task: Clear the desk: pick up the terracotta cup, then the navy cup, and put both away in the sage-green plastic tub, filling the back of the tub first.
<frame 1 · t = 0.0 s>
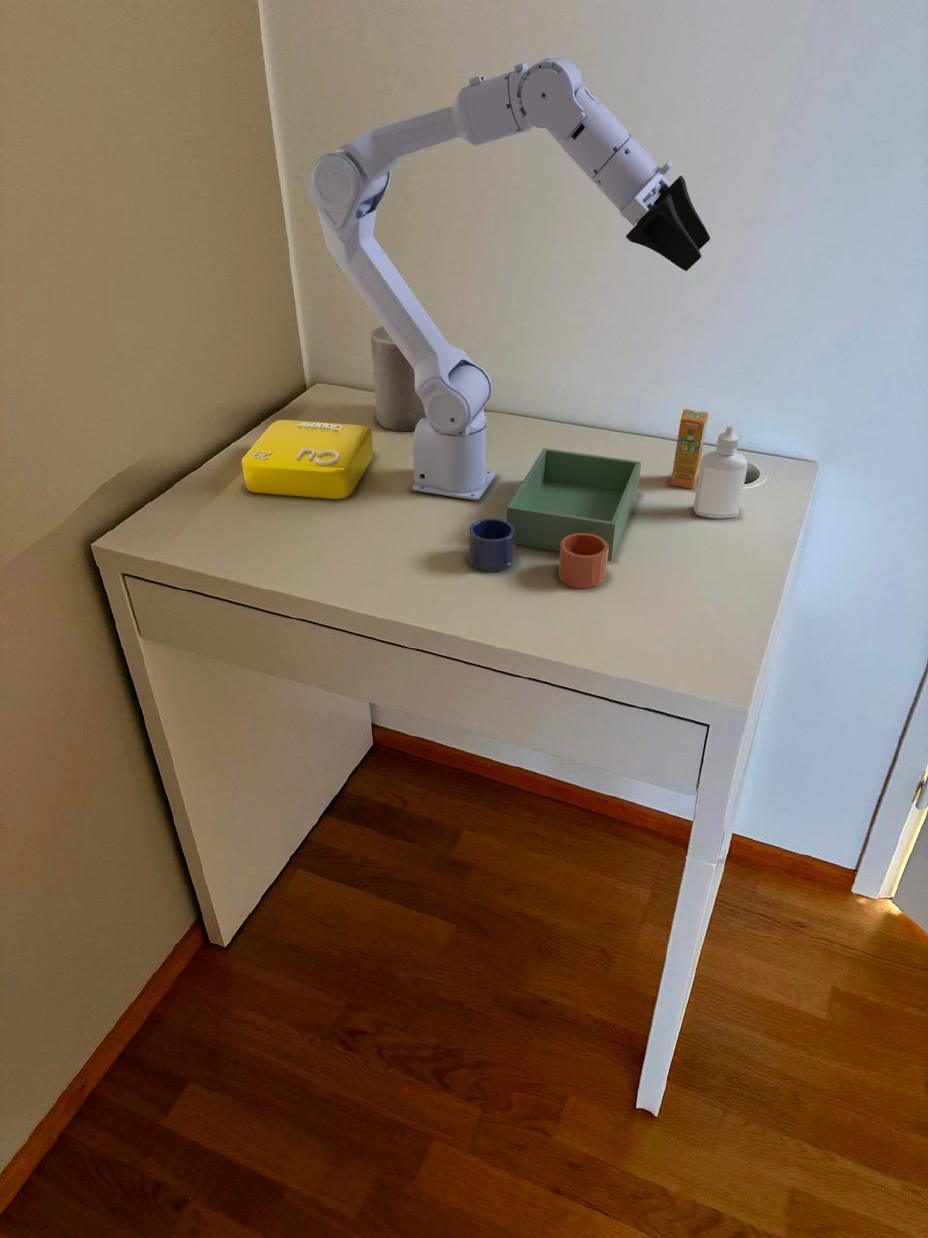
hand: (698, 254, 99), 32 cm above the table, tool tilted 50°, fingers open, 7 cm apart
navy cup: (491, 559, 110), on the table
supplement box: (683, 484, 125), on the table
terracotta cup: (581, 575, 107), on the table
pillar candle: (406, 420, 143), on the table
sage tub: (574, 517, 118), on the table
element tile: (311, 473, 129), on the table
eye dropper bottle: (715, 513, 119), on the table
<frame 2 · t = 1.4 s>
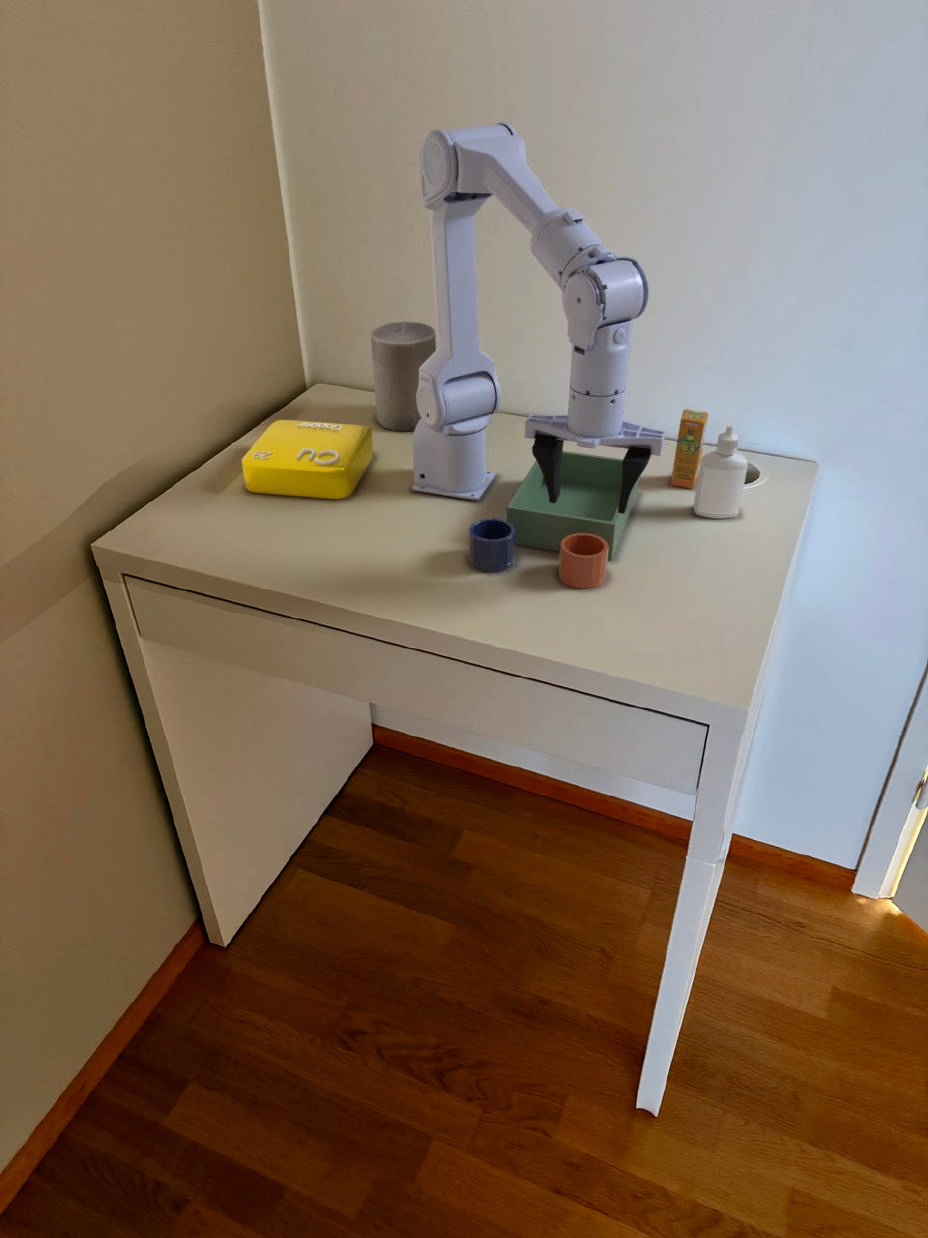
hand: (588, 503, 101), 9 cm above the table, tool pointing down, fingers open, 7 cm apart
nothing on the table moved.
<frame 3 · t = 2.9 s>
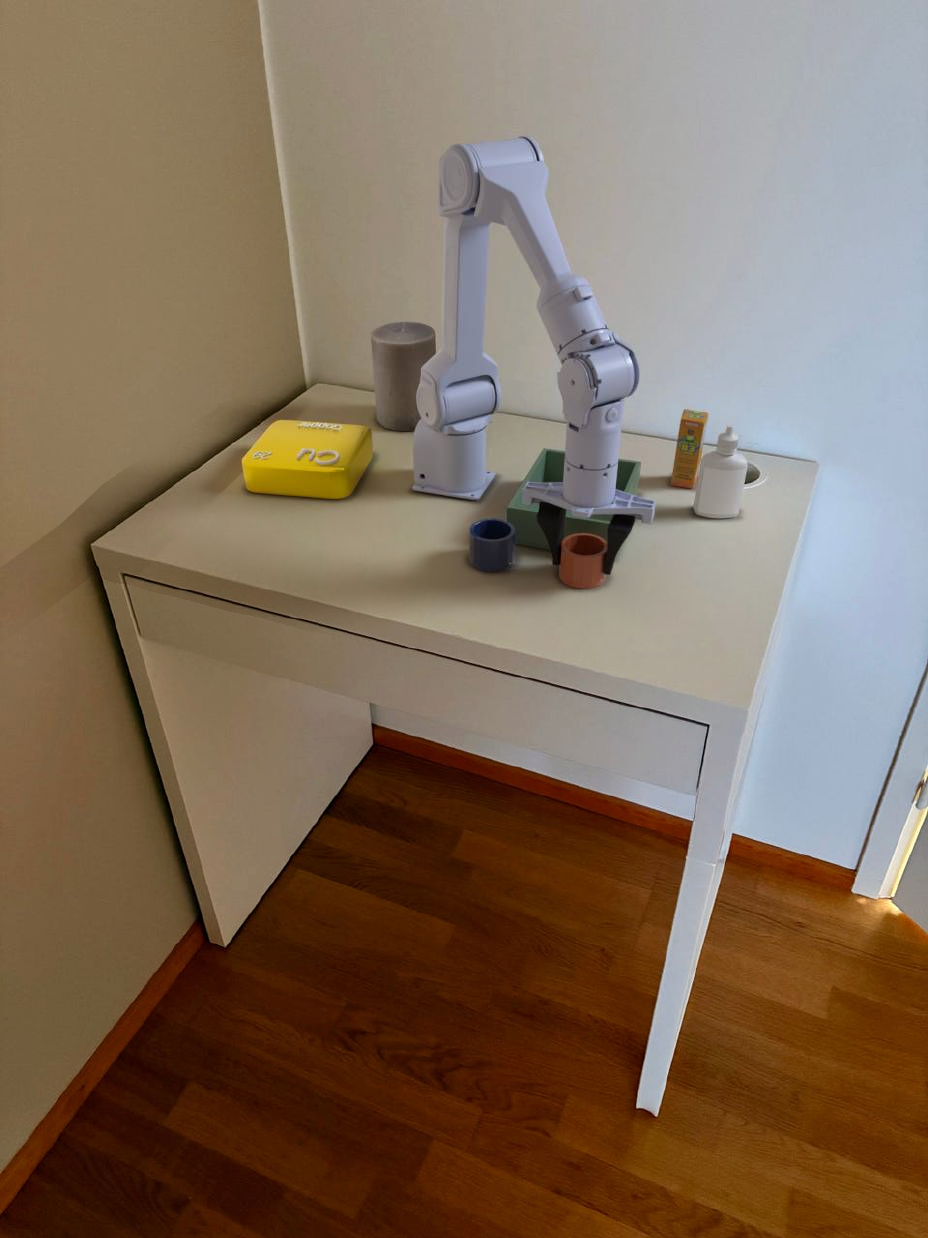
hand: (582, 565, 106), 1 cm above the table, tool pointing down, fingers closed on terracotta cup, 5 cm apart
terracotta cup: (582, 575, 107), on the table, touching gripper
everything else where it was.
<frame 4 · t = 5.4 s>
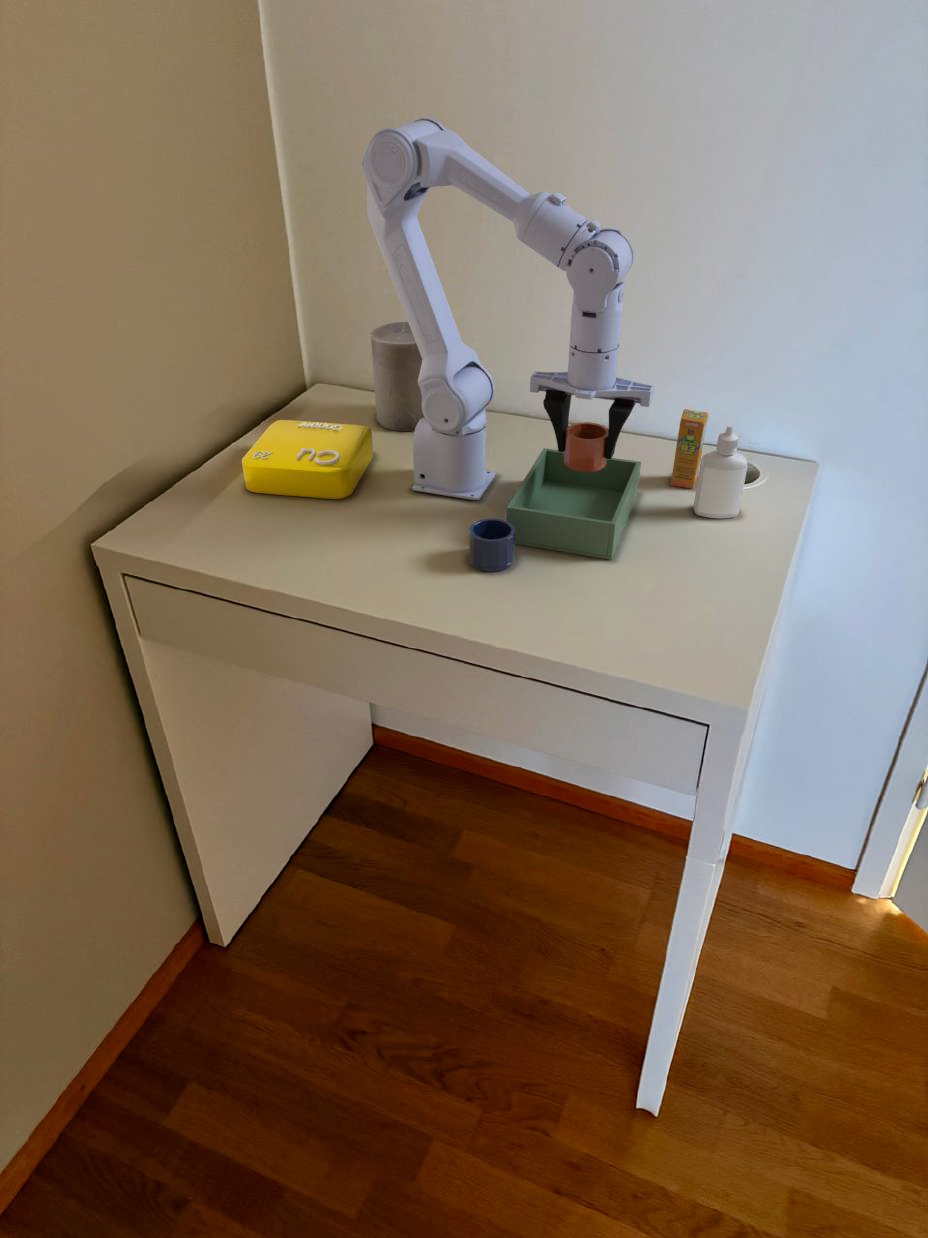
hand: (585, 451, 114), 8 cm above the table, tool pointing down, fingers closed on terracotta cup, 5 cm apart
terracotta cup: (585, 462, 115), point 7 cm above the table, touching gripper
everything else where it was.
when the fingers open (2 cm above the table, at t = 7.9 s): terracotta cup stays where it is, resting on sage tub.
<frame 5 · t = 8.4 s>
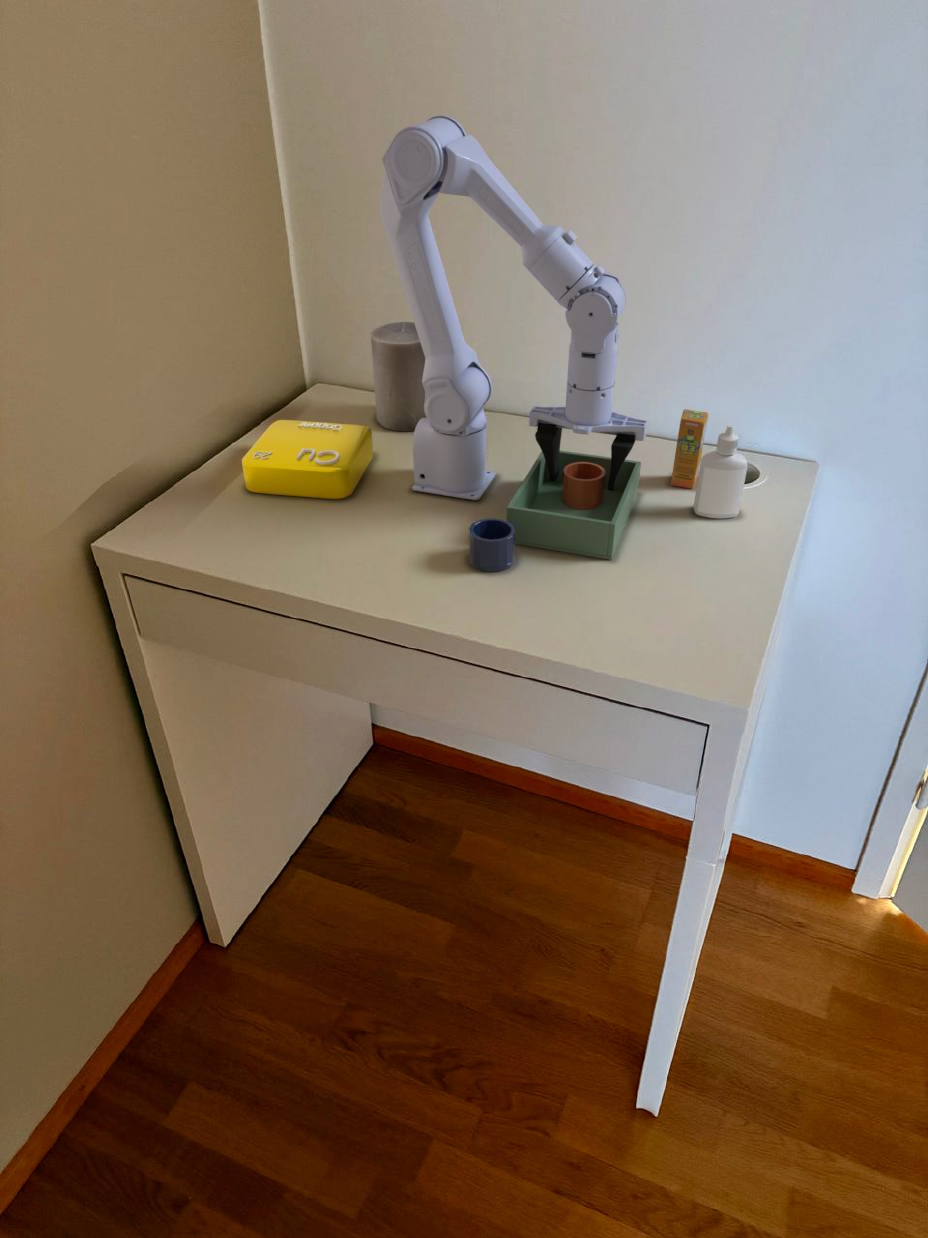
hand: (582, 482, 119), 3 cm above the table, tool pointing down, fingers open, 7 cm apart
terracotta cup: (582, 499, 120), resting on sage tub
everything else where it was.
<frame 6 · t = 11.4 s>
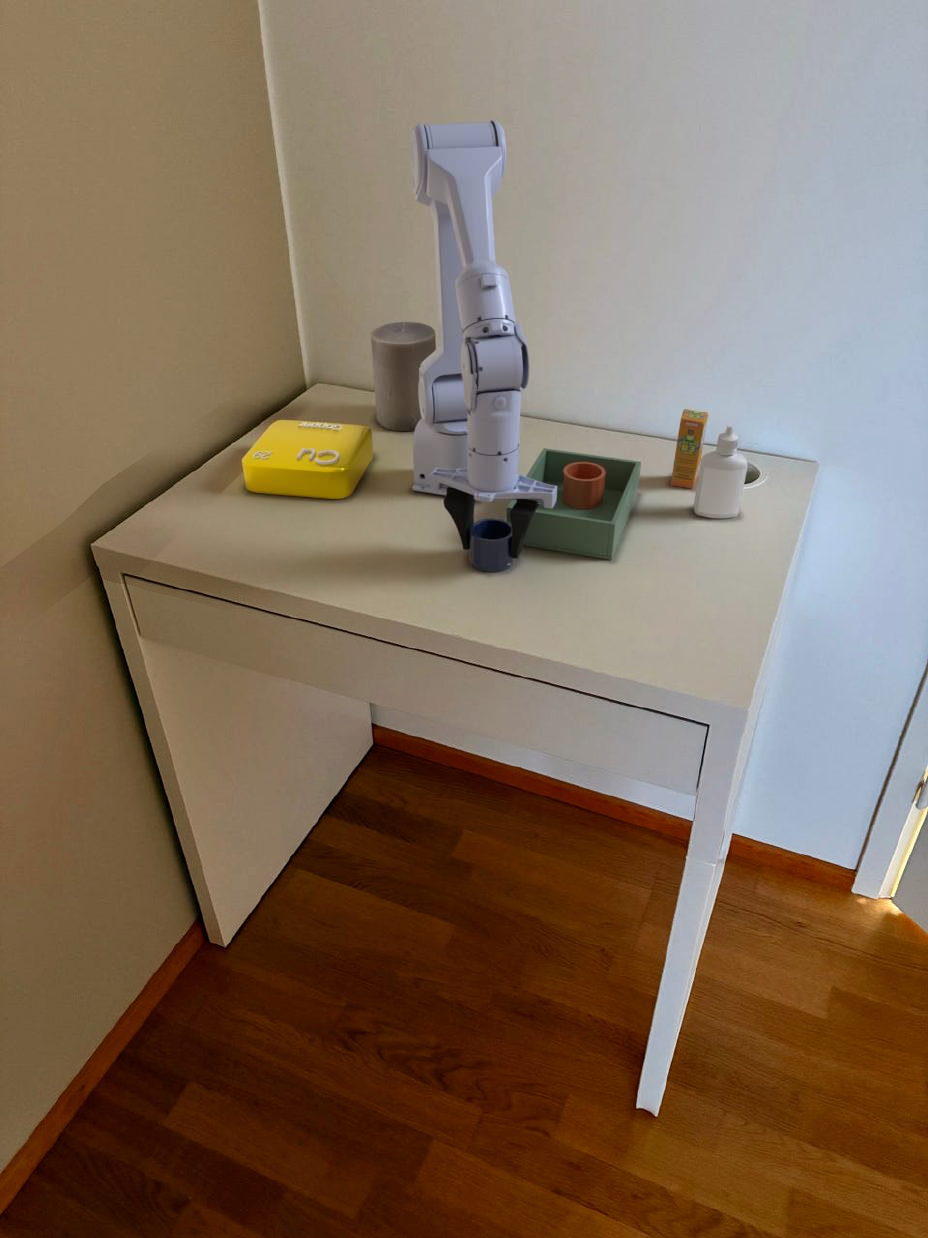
hand: (491, 549, 109), 1 cm above the table, tool pointing down, fingers closed on navy cup, 5 cm apart
navy cup: (492, 559, 110), on the table, touching gripper
everything else where it was.
when the fingers open (2 cm above the table, at t = 15.8 s): navy cup stays where it is, resting on sage tub.
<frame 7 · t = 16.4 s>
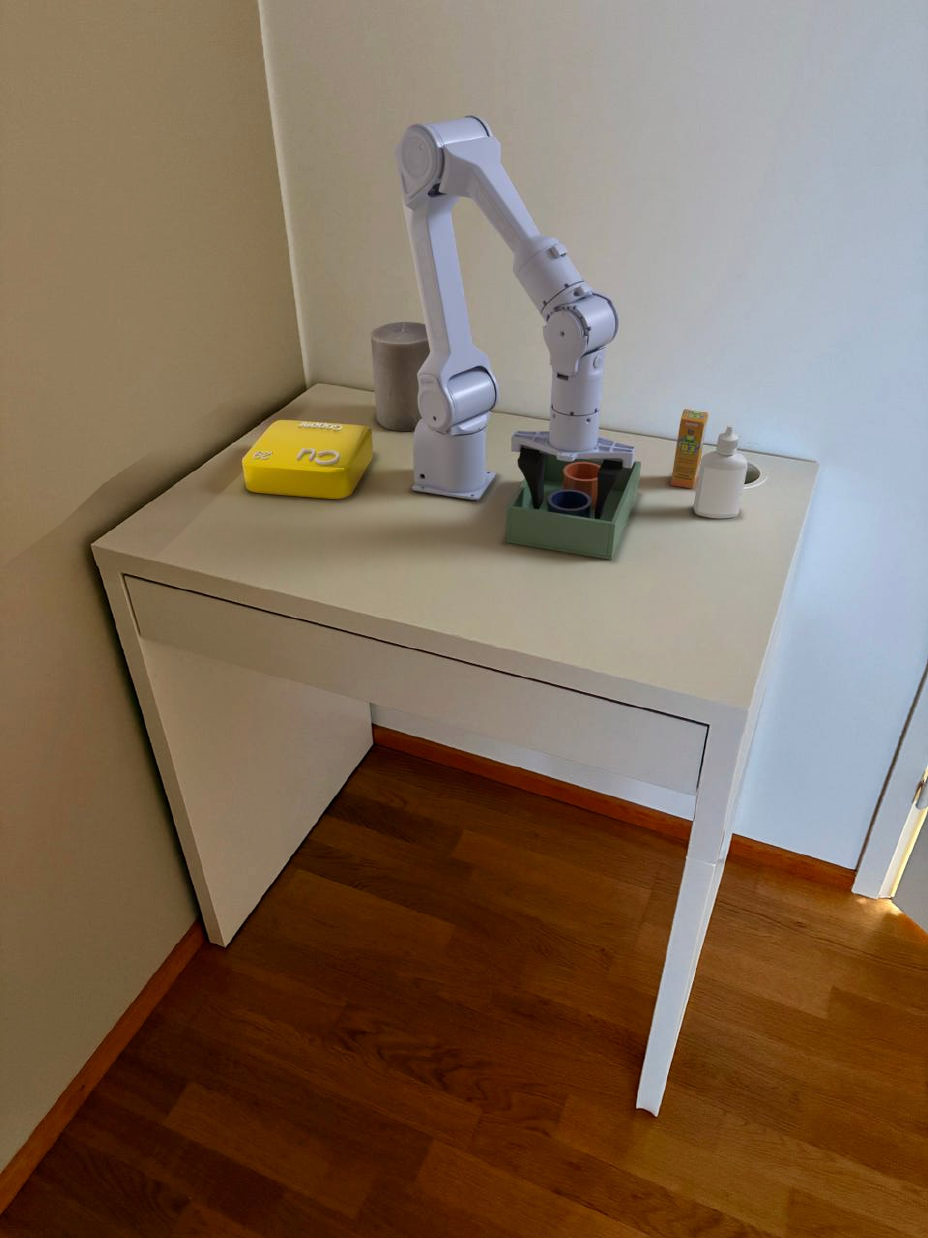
hand: (568, 510, 113), 3 cm above the table, tool pointing down, fingers open, 7 cm apart
navy cup: (567, 529, 114), resting on sage tub
everything else where it was.
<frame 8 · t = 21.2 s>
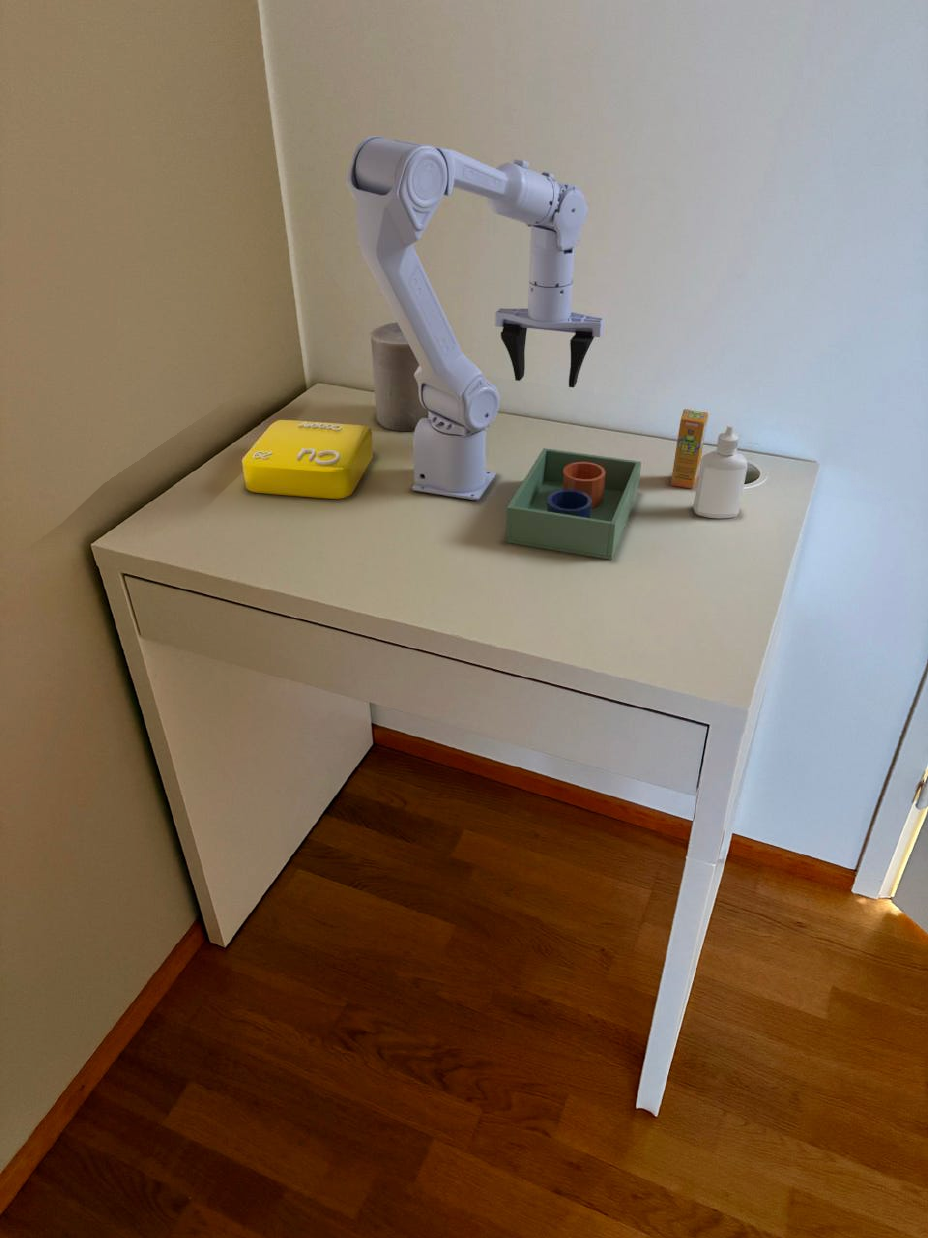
hand: (546, 381, 128), 10 cm above the table, tool pointing down, fingers open, 7 cm apart
nothing on the table moved.
at the end: terracotta cup inside the target area in the sage tub (4.0 cm from its centre), point 0.5 cm above the sage tub's base; navy cup inside the target area in the sage tub (4.0 cm from its centre), point 0.5 cm above the sage tub's base; navy cup tilted 0° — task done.
